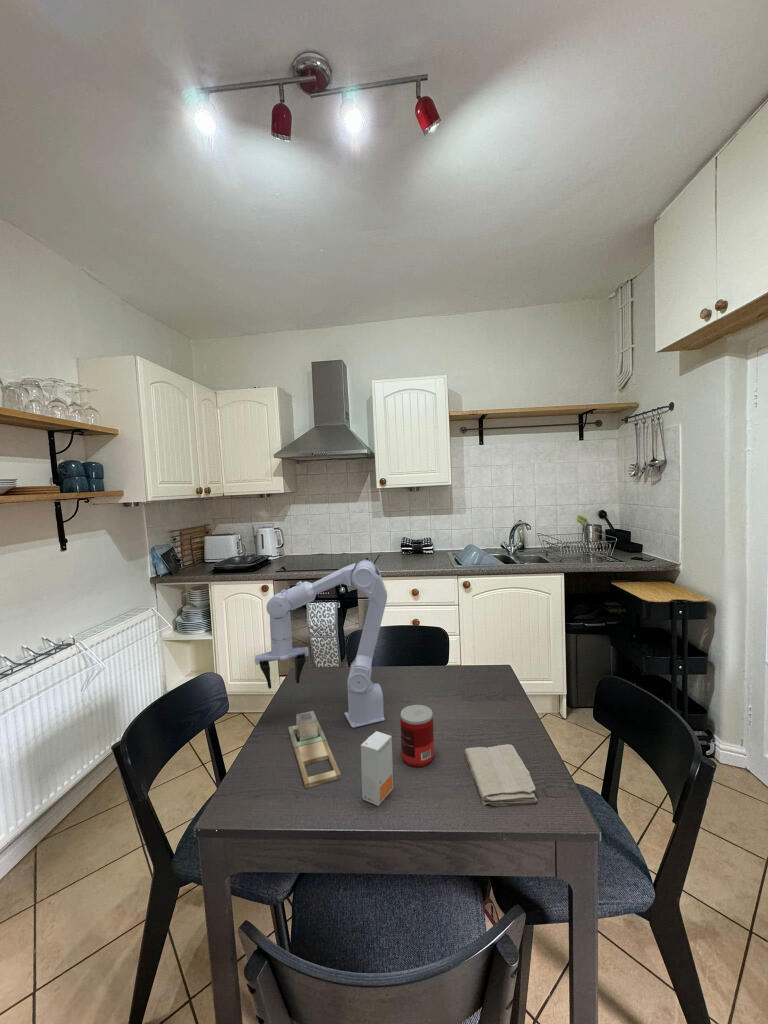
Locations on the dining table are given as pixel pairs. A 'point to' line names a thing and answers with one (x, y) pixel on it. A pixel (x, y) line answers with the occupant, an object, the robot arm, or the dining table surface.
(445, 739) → the dining table surface
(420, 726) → the canned food
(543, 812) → the dining table surface
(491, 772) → the washcloth
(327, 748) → the wooden peg board
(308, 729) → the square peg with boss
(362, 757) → the skincare box
